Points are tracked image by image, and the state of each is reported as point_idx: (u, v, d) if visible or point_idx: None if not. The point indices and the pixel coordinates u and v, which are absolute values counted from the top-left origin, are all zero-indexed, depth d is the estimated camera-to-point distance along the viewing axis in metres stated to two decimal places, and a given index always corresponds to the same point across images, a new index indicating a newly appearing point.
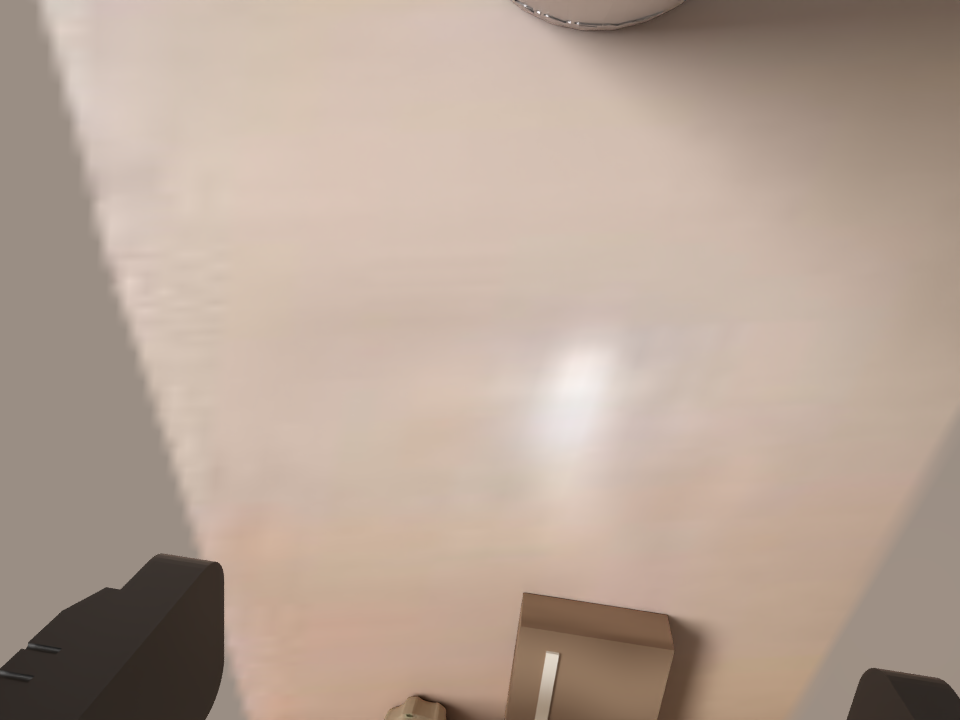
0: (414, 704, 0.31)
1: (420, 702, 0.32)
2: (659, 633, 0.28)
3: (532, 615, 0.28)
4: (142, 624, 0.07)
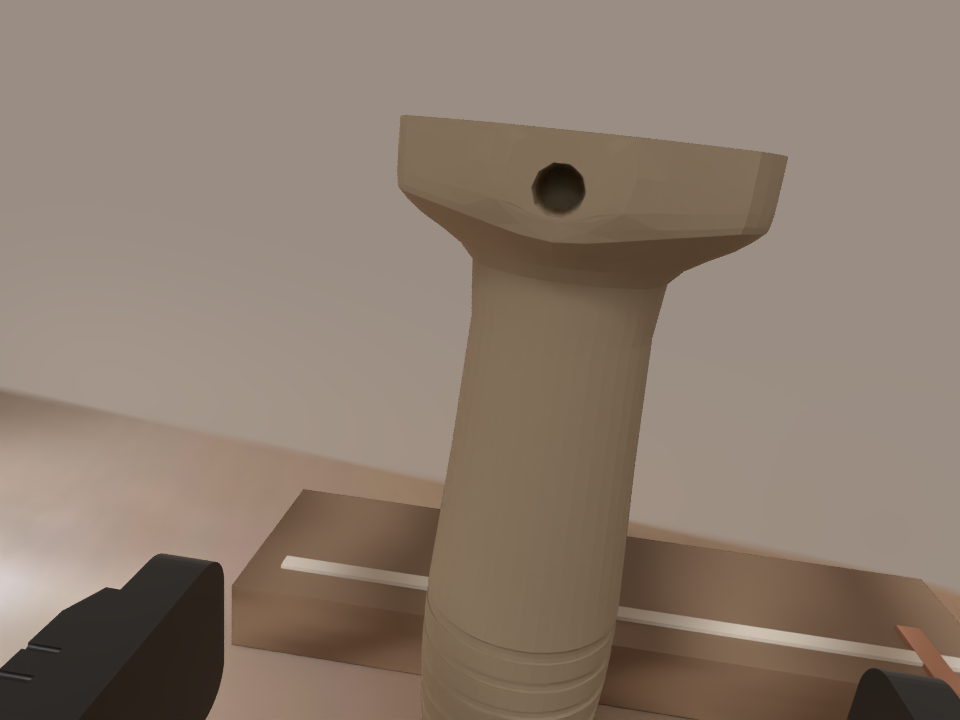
0: None
1: None
2: None
3: None
4: (142, 623, 0.07)
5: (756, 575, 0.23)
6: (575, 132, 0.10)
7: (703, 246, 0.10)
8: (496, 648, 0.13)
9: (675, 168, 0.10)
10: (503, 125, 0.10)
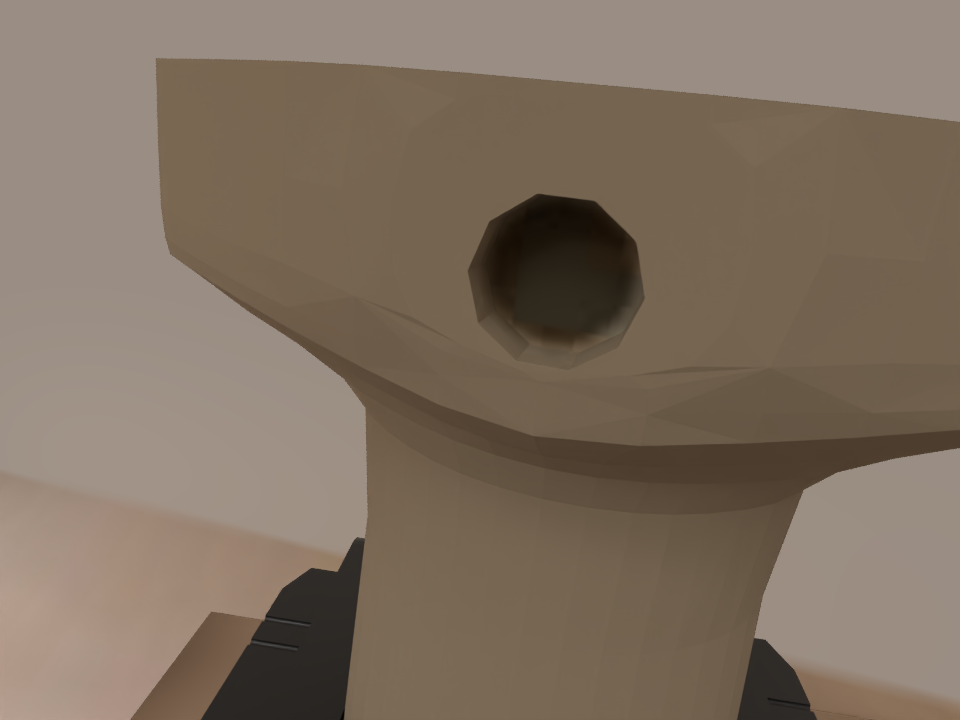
0: None
1: None
2: None
3: None
4: None
5: None
6: (612, 92, 0.03)
7: None
8: None
9: (957, 214, 0.03)
10: (378, 73, 0.03)
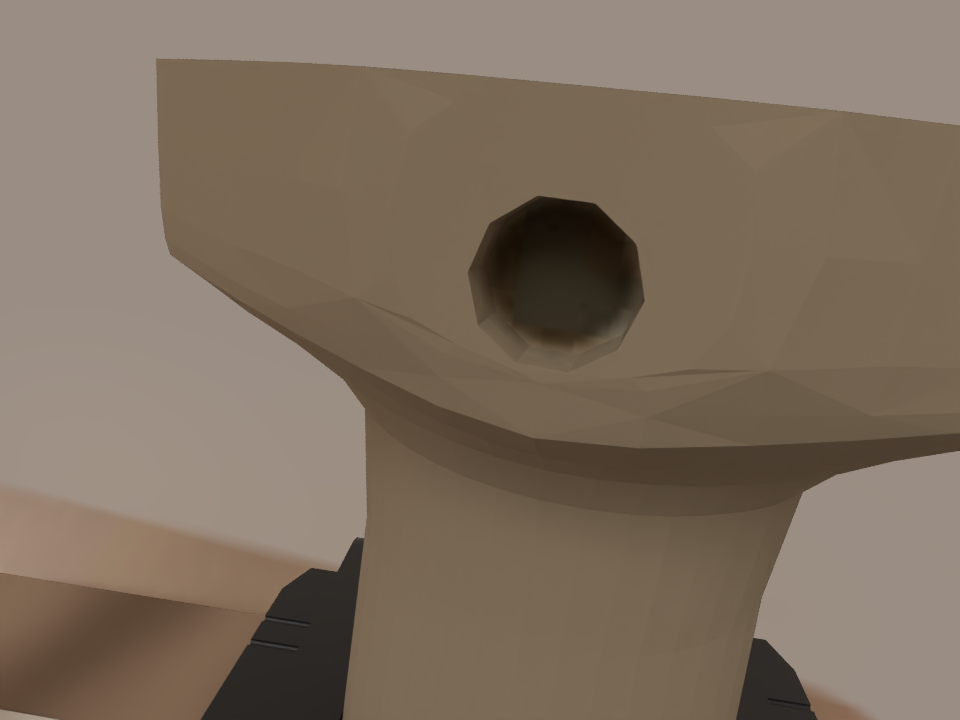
0: None
1: None
2: None
3: None
4: None
5: None
6: (613, 95, 0.03)
7: None
8: None
9: (958, 222, 0.03)
10: (379, 75, 0.03)
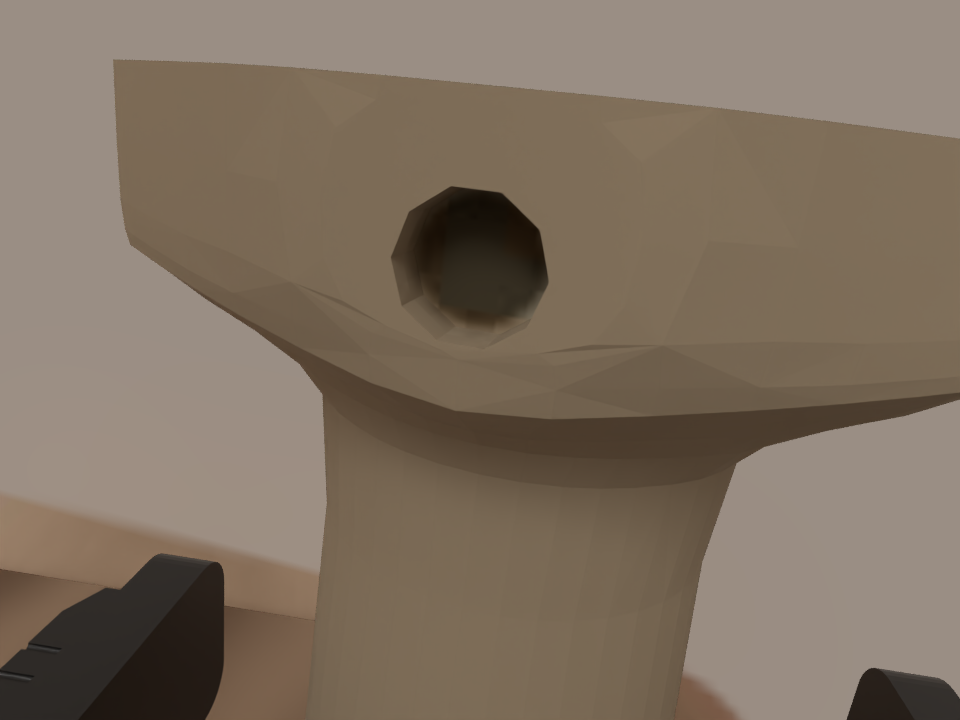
0: None
1: None
2: None
3: None
4: (142, 624, 0.07)
5: None
6: (514, 93, 0.03)
7: (875, 411, 0.04)
8: None
9: (826, 205, 0.03)
10: (307, 75, 0.03)
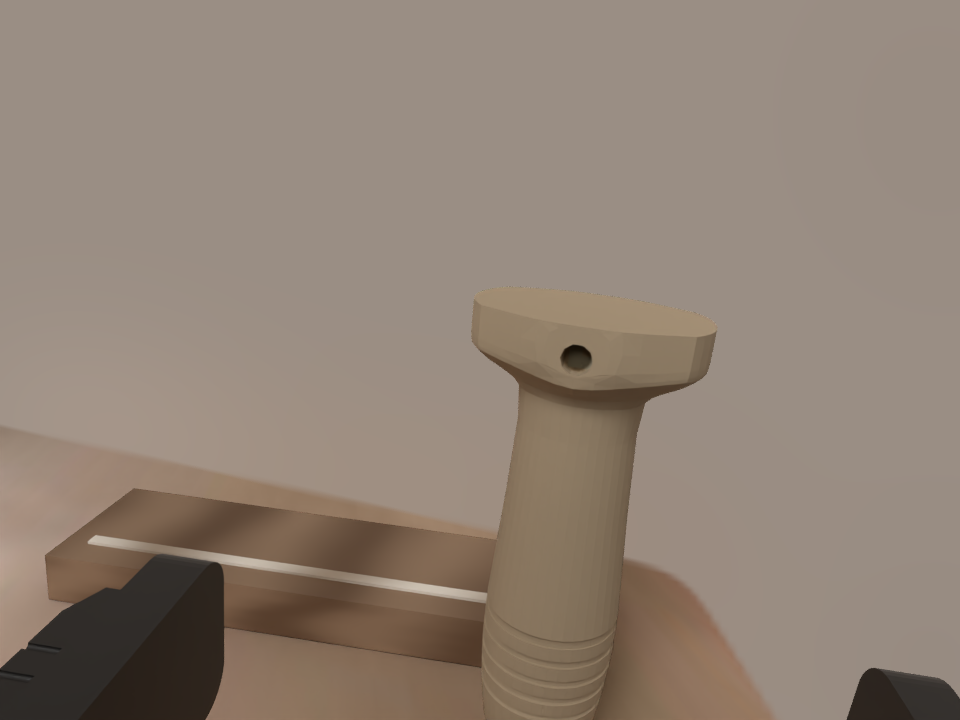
0: None
1: None
2: None
3: None
4: (142, 624, 0.07)
5: (461, 550, 0.31)
6: (586, 328, 0.16)
7: (664, 388, 0.17)
8: (537, 639, 0.20)
9: (645, 348, 0.16)
10: (542, 321, 0.17)
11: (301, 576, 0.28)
